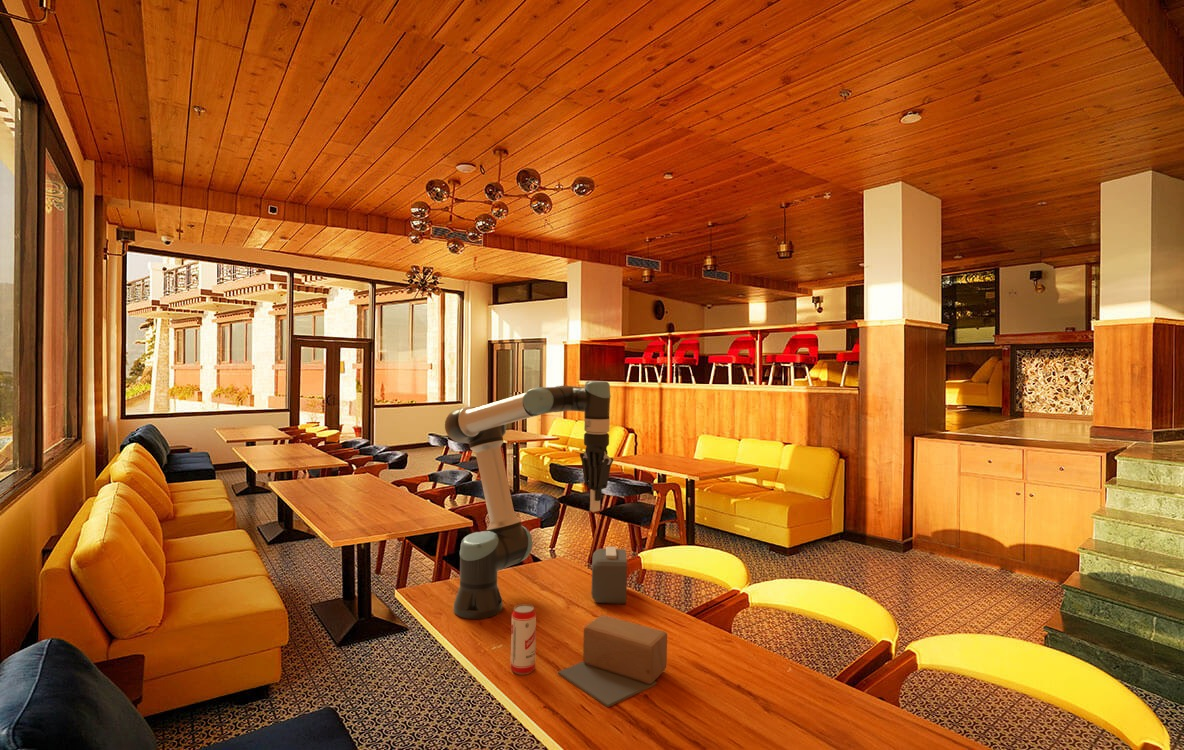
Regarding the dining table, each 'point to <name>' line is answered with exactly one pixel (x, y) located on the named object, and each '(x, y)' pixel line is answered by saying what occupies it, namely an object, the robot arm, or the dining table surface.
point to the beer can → (523, 639)
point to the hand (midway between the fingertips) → (595, 510)
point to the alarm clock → (609, 575)
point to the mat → (603, 683)
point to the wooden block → (625, 648)
